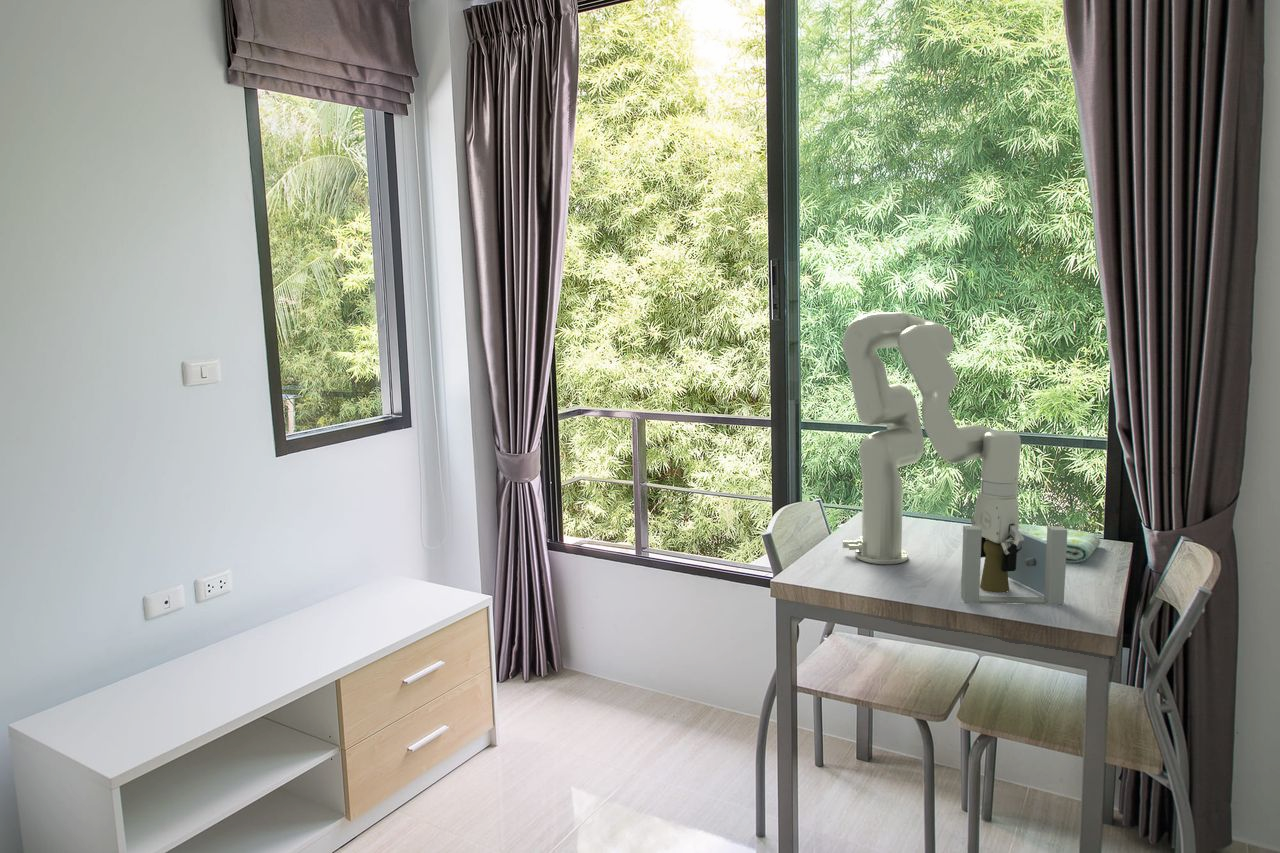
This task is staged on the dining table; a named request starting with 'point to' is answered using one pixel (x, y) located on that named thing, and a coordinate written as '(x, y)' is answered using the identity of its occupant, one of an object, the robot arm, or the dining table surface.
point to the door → (1030, 563)
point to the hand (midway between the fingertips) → (994, 563)
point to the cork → (994, 569)
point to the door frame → (1051, 594)
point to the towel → (1068, 541)
